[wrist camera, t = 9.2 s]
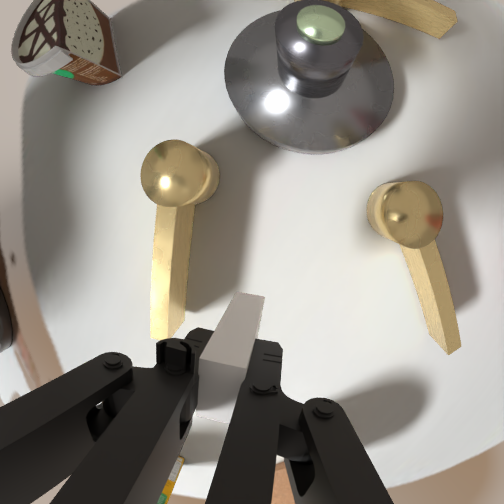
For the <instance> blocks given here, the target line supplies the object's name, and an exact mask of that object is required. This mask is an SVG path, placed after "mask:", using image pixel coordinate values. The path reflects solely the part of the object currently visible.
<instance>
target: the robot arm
mask: <svg viewBox="0 0 504 504" xmlns="http://www.w3.org/2000/svg"><path fill="white" fill-rule="evenodd" d="M264 299H265V297H263V296H258V295H252V294H247V293H242V292H236V293H235V295H234V297H233V299H232V300H231V302H230V304H229V306H228V308H227V309H226V311H225V313H224V315H223V317H222V318H221V320H220V322H219V324H218V326H217V327H216V329H215V331H211V330H207V329H203V328H196V329H194V330H192V331H190V332H189V333H188V334H187V336H186V337H185V339H184V340H183V339H178V338H167V339H163V340H160V341H159V342H157V343H156V362H157V364H156V365H155V366H154V368H141V367H133V366H132V362H131V359H130V358H129V357H128V356H126V355H124V354H121V353H117V352H108V353H104V354H101V355H99V356H97V357H95V358H93V359H92V360H90V361H88V362H86V363H84V364H82V365H80V366H78V367H77V368H75V369H73V370H71V371H69V372H67V373H65V374H63V375H62V376H60V377H58V378H56V379H54V380H52V381H50V382H48V383H46V384H44V385H43V386H41V387H39V388H37V389H35V390H33V391H31V392H29V393H27V394H25V395H23V396H21V397H19V398H18V399H16V400H14V401H12V402H10V403H8V404H6V405H4V406H2V407H0V504H30V503H32V502H33V501H35V500H36V499H38V498H39V497H41V496H42V495H43V494H45V493H46V492H48V491H49V490H51V489H52V488H53V487H55V486H56V485H58V484H59V483H60V482H62V481H63V480H64V479H66V478H67V477H68V476H70V475H71V474H72V475H71V476H70V477H69V479H68V480H67V481H66V483H65V484H64V485H63V487H62V488H61V489H60V491H59V492H58V493H57V495H56V496H55V497H54V499H53V500H52V501H51V503H50V504H157V502H158V500H159V498H160V496H161V493H162V491H163V489H164V487H165V484H166V482H167V480H168V478H169V476H170V473H171V471H172V469H173V467H174V464H175V462H176V460H177V458H178V455H179V453H180V451H181V449H182V446H183V444H184V442H185V440H186V437H187V435H188V433H189V431H190V428H191V426H192V416H193V413H194V411H195V409H196V416H198V417H202V418H206V419H210V420H214V421H218V422H223V423H227V424H229V427H228V431H227V434H226V437H225V441H224V444H223V447H222V451H221V454H220V457H219V461H218V464H217V467H216V470H215V474H214V477H213V480H212V483H211V486H210V490H209V493H208V496H207V499H206V502H205V504H271V502H272V494H273V485H274V476H275V467H276V457H277V455H278V456H281V457H283V458H284V463H285V467H286V471H287V475H288V478H289V482H290V486H291V490H292V494H293V497H294V501H295V504H394V503H393V501H392V499H391V498H390V496H389V494H388V492H387V490H386V488H385V486H384V484H383V483H382V481H381V479H380V477H379V475H378V473H377V471H376V469H375V468H374V466H373V464H372V462H371V460H370V458H369V456H368V454H367V453H366V451H365V449H364V447H363V445H362V443H361V441H360V440H359V438H358V436H357V434H356V432H355V430H354V428H353V427H352V425H351V423H350V421H349V419H348V417H347V416H346V414H345V412H344V410H343V409H342V407H341V406H340V405H339V404H338V403H336V402H334V401H333V400H330V399H326V398H313V399H310V400H308V401H306V402H305V404H302V403H299V402H297V401H294V400H292V399H290V398H289V397H287V396H286V395H285V394H284V393H283V392H282V390H281V386H280V381H281V368H282V353H283V349H282V348H281V346H280V345H279V343H277V342H271V341H266V340H260V339H257V338H258V332H259V327H260V321H261V316H262V310H263V304H264ZM11 342H12V326H11V320H10V316H9V312H8V308H7V305H6V302H5V299H4V296H3V294H2V291H1V289H0V353H1V352H2V351H4V350H5V349H7V348H8V347H9V346H10V345H11ZM100 402H102V403H101V404H100V405H97V404H99V403H100ZM96 405H97V406H96Z"/></svg>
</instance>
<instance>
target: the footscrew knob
mask: <svg viewBox="0 0 504 504" xmlns="http://www.w3.org/2000/svg"><path fill="white" fill-rule="evenodd" d="M219 177H220V175H219V168H218V165H217V163H216V161H215V160H214V159H213V158H212V157H211V156H210V155H209V154H208V153H206V152H204V151H202V150H200V149H198V148H196V147H194V146H192V145H190V144H188V143H186V142H184V141H181V140H167V141H164V142H161V143H159V144H158V145H156V146H155V147H154V148H152V149H151V150H150V152H149V153H148V154H147V156H146V157H145V159H144V161H143V164H142V168H141V183H142V187H143V189H144V191H145V193H146V195H147V196H148V197H149V198H150V199H151V200H152V201H153V202H154V203H156V204H157V212H156V222H155V233H154V246H153V261H152V281H151V338H154V339H157V340H163V339H167V338H171V337H172V336H173V335H174V333H175V332H176V331H177V329H178V328H179V327H180V326H181V324H182V323H183V322H184V319H185V304H186V291H187V278H188V267H189V257H190V247H191V237H192V228H193V220H194V211H195V204H199V203H202V202H204V201H206V200H207V199H209V198H210V197H211V196H212V195H213V194H214V192H215V191H216V189H217V186H218V184H219Z"/></svg>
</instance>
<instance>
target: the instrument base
mask: <svg viewBox="0 0 504 504" xmlns="http://www.w3.org/2000/svg"><path fill="white" fill-rule="evenodd" d="M341 6H342V7H347V8H351V9H355V10H359V11H363V12H367V13H370V14H374V15H377V16H380V17H384V18H387V19H390V20H393V21H396V22H399V23H401V24H404V25H407V26H410V27H412V28H415V29H417V30H420V31H422V32H425V33H427V34H429V35H432V36H434V37H436V38H438V39H440V38H441V37H442V36H443V35H444V34H445V33H446V32H447V31H448V30H449V29H450V28H451V27H452V26H453V25H454V24H455V23H456V22H458V21H457V17H456V13H455V11H454V10H452V9H450V8H448V7H446V6H444V5H442V4H440V3H438V2H435V1H433V0H294V3H291V4H289V5H287V6H286V7H285V8H283V9H282V10H281V11H277V12H274V13H270V14H268V15H265V16H263V17H261V18H259V19H257V20H256V21H254V22H253V23H251V24H250V25H248V26H247V27H246V28H245V29H244V30H243V31H242V32H241V33H240V34H239V35H238V36H237V37H236V39H235V40H234V42H233V43H232V45H231V47H230V49H229V51H228V54H227V58H226V62H225V69H224V73H225V83H226V89H227V91H228V94H229V97H230V99H231V101H232V103H233V105H234V107H235V108H236V110H237V112H238V114H239V115H240V116H241V118H242V119H243V121H244V122H245V123H246V124H247V125H248V126H249V127H250V128H251V130H253V131H254V132H255V133H256V134H258V135H259V136H260V137H262V138H263V139H265V140H266V141H268V142H269V143H272V144H274V145H276V146H278V147H280V148H283V149H286V150H289V151H293V152H297V153H303V154H328V153H334V152H338V151H342V150H345V149H347V148H349V147H352V146H354V145H355V144H357V143H359V142H360V141H362V140H363V139H365V138H366V137H368V136H369V135H370V134H371V133H373V132H374V131H375V130H376V129H377V128H378V127H379V126H380V125H381V124H382V122H383V121H384V119H385V118H386V116H387V114H388V112H389V110H390V107H391V104H392V100H393V93H394V82H393V76H392V71H391V68H390V65H389V62H388V60H387V58H386V56H385V54H384V53H383V51H382V50H381V48H380V47H379V45H378V44H377V43H376V42H375V41H374V39H373V38H372V37H371V36H370V35H369V34H367V33H366V32H365V31H364V30H363V29H362V28H361V26H360V24H359V22H358V21H357V19H356V18H355V17H354V16H353V15H352V14H351V13H350V12H348V11H347V10H346V9H344V8H342V7H341Z"/></svg>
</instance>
